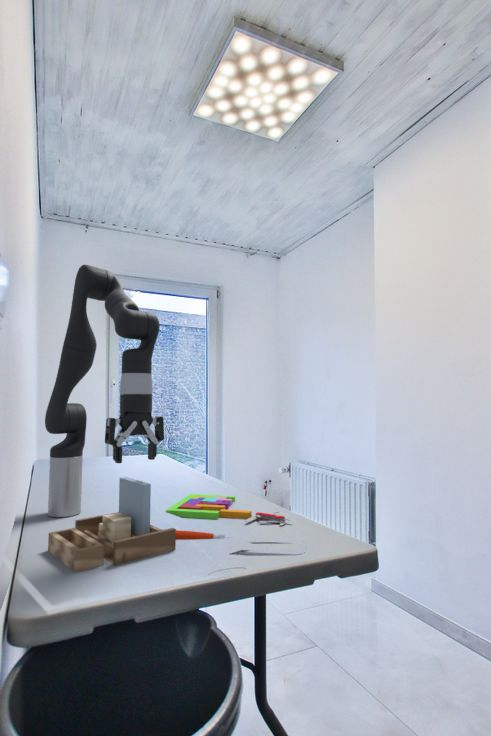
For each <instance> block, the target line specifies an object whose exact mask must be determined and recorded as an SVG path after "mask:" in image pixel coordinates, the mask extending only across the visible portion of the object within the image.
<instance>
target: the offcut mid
mask: <svg viewBox="0 0 491 736" xmlns="http://www.w3.org/2000/svg"><path fill="white" fill-rule="evenodd" d="M102 524H103V523H99V534H101V535H103V536H104V537H106V538H108V539H110V540H112V541H113V542H114V541H117V540H121V539H126V538H130V537H131V528H127V529H122V530H118V531H112V530H110V529H109V528H107V527H105V526H103V525H102Z"/></svg>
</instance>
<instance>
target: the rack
mask: <svg viewBox="0 0 491 736" xmlns="http://www.w3.org/2000/svg"><path fill="white" fill-rule="evenodd" d="M114 513H115V512H112V513H111V514H114ZM116 513H119V511H118V512H116ZM108 514H109V513H108ZM108 514H105V515H108ZM103 515H104V514H102V515H97V516H96V515H95V516H92V517H91V516H90V517H85V518H84V517H83V518H79V519H75V522H74V525H75V527H74V528H76V529H77V530H79V531H81V532H82V533H84V534H86V535H87V536H89V537H91V538H92V539H94V540H96V541H98V542H99V543H101V544H103V545H104V556H103V559H105V560H106V561H108V562H109V563H110V564H112V565H114V566H119V565H122V564H127V563H130V562H134V561H137V560H138V561H139V560H141V559H145V558H149V557H153V556H156V555H160V554H164V553H167V552H171V551H175V550H176V540H177V539H176V528H174V527H170V528H166V529H161V528H159V527H157V526H155V525H152V524H150V533H148V534H143V535H139V536H136V535H134V534H132V533H131V537H130V538H126V539H121V540H117V541H114V545H112V544H110V543H109V542H107V541H105V540H103V539H102V538H100V537H98V533H99V523H103Z"/></svg>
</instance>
